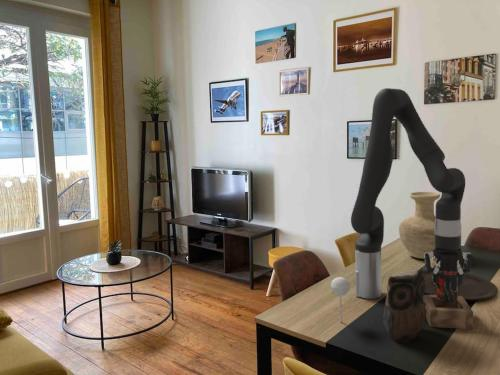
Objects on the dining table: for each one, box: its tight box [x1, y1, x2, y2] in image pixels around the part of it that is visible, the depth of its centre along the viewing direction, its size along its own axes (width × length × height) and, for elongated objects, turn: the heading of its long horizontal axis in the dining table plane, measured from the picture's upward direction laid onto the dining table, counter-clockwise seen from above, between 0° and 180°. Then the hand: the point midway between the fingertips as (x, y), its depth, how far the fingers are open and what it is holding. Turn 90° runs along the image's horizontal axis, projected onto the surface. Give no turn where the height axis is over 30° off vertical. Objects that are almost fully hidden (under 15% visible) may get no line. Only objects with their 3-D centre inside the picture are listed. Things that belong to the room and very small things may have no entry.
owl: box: [382, 267, 427, 343], centre depth 123 cm, size 13×13×20 cm
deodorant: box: [436, 253, 459, 302], centre depth 131 cm, size 6×6×15 cm
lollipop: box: [330, 276, 351, 323], centre depth 133 cm, size 6×6×15 cm
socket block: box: [423, 294, 474, 330], centre depth 132 cm, size 12×12×6 cm
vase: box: [398, 191, 441, 260], centre depth 193 cm, size 22×22×30 cm
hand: (447, 284), depth 131 cm, fingers closed on deodorant, 6 cm apart
